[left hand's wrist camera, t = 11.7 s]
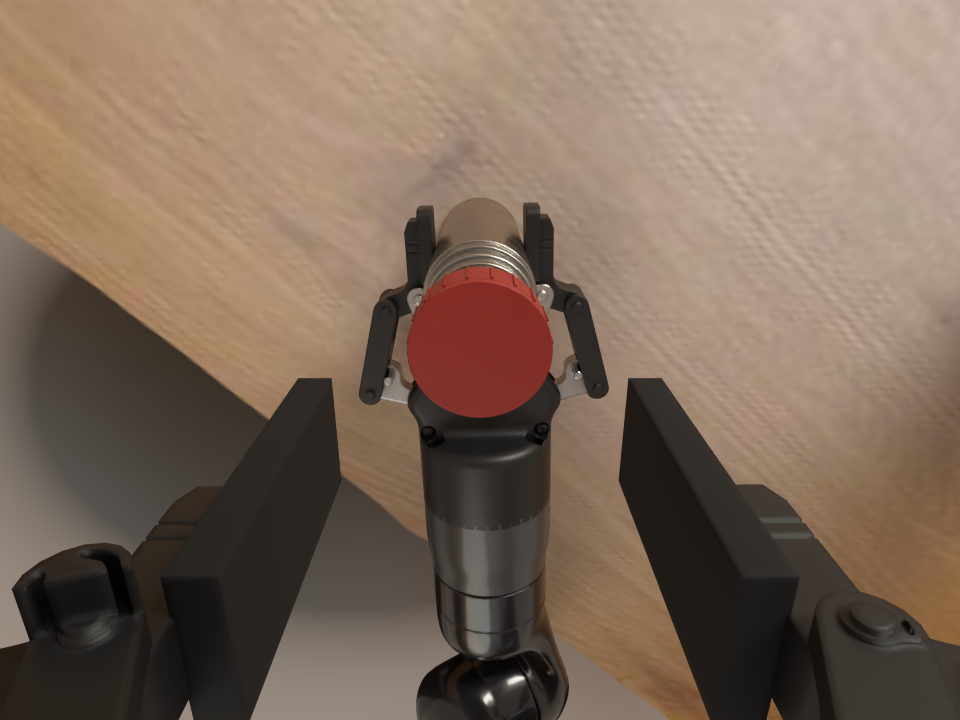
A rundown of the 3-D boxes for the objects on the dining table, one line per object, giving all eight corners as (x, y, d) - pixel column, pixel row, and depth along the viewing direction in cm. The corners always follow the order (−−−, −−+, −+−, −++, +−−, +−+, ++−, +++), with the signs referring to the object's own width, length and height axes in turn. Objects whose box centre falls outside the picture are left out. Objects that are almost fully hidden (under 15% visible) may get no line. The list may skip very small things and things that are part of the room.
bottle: (500, 185, 37) (519, 252, 19) (529, 256, 38) (574, 383, 20) (429, 217, 38) (381, 312, 19) (460, 285, 39) (444, 434, 21)
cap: (516, 241, 20) (521, 254, 18) (567, 363, 22) (576, 387, 20) (388, 297, 21) (379, 315, 19) (447, 411, 22) (444, 439, 20)
